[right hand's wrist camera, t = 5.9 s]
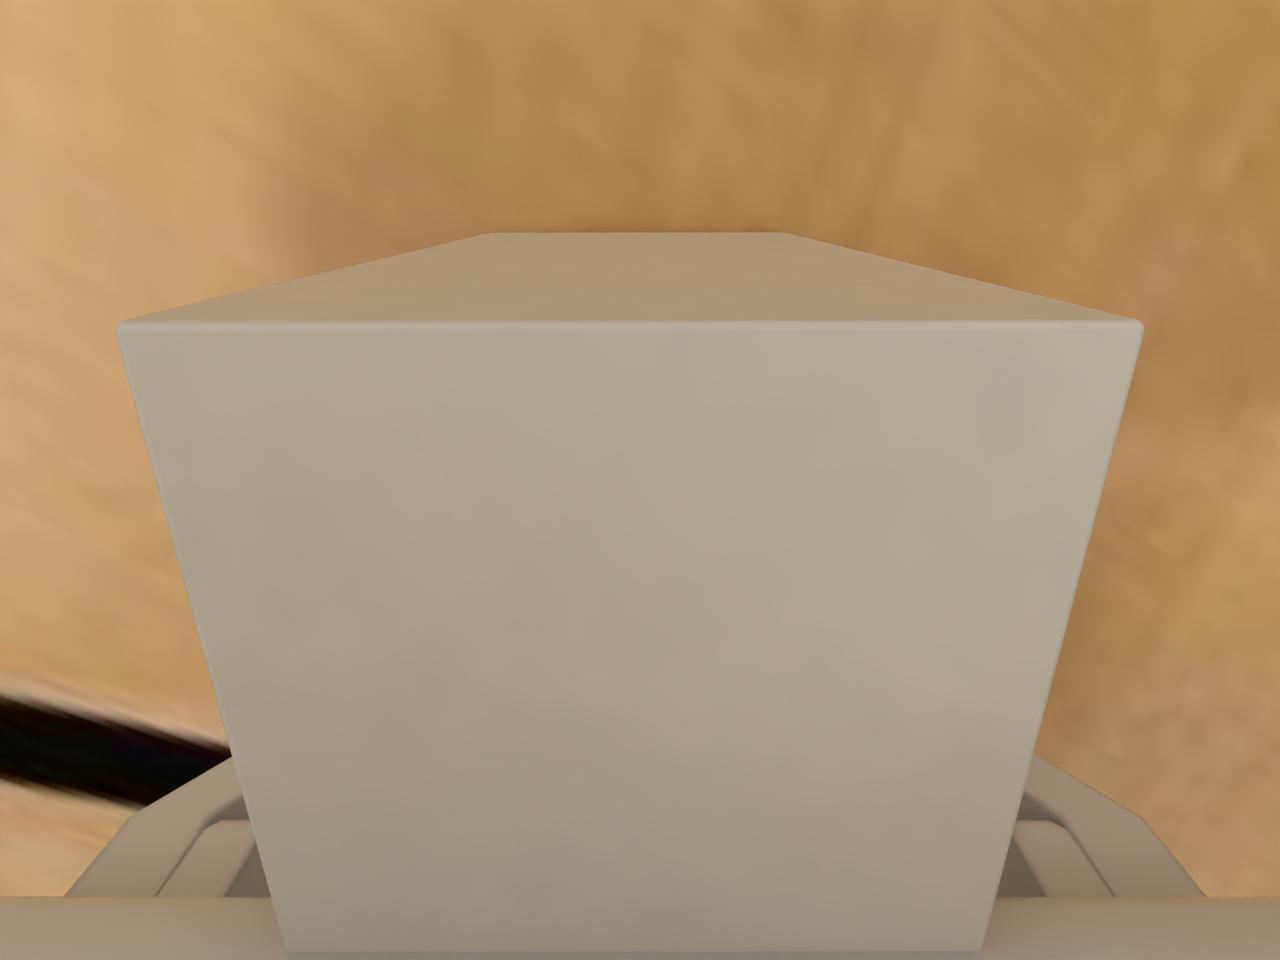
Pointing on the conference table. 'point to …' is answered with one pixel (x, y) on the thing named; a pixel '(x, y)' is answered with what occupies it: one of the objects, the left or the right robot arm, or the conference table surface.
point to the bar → (631, 583)
